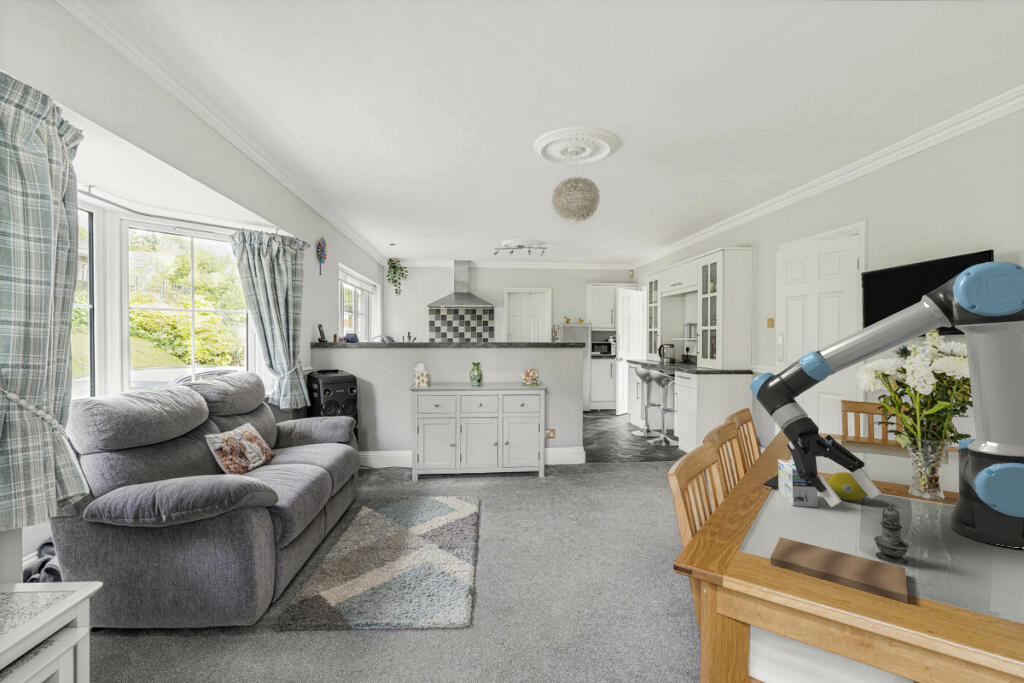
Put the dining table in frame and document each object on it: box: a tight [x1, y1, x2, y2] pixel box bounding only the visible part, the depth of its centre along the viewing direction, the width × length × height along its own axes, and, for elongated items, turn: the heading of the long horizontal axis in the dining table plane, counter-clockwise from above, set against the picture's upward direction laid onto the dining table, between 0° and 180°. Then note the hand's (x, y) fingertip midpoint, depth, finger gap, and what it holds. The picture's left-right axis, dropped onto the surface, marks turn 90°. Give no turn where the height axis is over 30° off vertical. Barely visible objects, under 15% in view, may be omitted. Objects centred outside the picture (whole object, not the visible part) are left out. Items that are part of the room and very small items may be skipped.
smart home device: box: [763, 474, 779, 492], centre depth 144 cm, size 8×2×20 cm
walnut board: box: [770, 536, 909, 604], centre depth 91 cm, size 22×12×2 cm, turn 49°
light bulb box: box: [777, 459, 819, 508], centre depth 129 cm, size 11×7×11 cm, turn 169°
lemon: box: [826, 471, 868, 502], centre depth 128 cm, size 11×8×8 cm
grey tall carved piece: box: [873, 504, 910, 566], centre depth 95 cm, size 6×6×12 cm
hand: (857, 500), depth 101 cm, fingers open, 13 cm apart
